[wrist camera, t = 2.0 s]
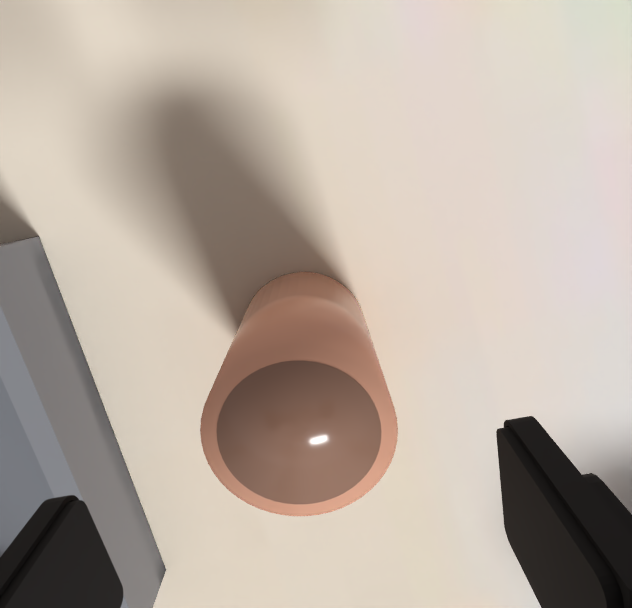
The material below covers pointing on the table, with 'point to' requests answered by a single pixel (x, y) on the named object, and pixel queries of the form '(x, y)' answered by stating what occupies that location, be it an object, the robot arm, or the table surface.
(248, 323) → the cup
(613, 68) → the table surface
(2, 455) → the tray
